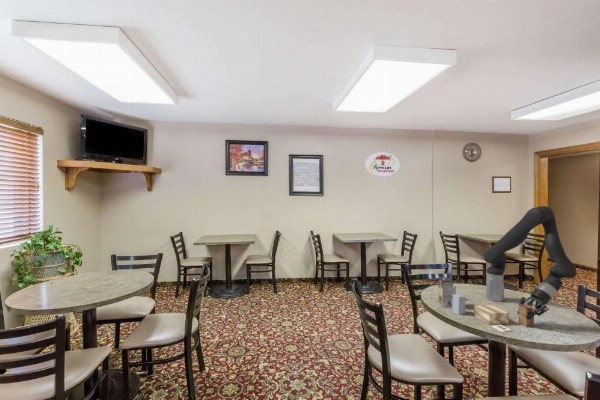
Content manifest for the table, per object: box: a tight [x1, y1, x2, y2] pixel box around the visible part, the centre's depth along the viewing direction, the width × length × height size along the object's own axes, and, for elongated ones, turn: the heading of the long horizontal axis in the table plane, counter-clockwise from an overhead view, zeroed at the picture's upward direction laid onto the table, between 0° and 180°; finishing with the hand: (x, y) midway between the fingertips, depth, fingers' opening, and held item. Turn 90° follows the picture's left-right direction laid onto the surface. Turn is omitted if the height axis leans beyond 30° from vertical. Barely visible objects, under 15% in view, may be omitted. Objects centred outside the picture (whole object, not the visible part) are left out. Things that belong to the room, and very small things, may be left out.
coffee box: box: [437, 276, 454, 309], centre depth 175 cm, size 9×6×16 cm
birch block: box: [474, 304, 510, 325], centre depth 154 cm, size 11×11×6 cm
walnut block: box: [518, 304, 535, 328], centre depth 148 cm, size 4×4×10 cm
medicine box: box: [453, 284, 457, 295], centre depth 188 cm, size 8×4×9 cm, turn 47°
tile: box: [491, 324, 513, 333], centre depth 144 cm, size 6×6×1 cm
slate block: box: [451, 293, 466, 316], centre depth 163 cm, size 4×4×10 cm
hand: (523, 316), depth 148 cm, fingers closed on walnut block, 4 cm apart
